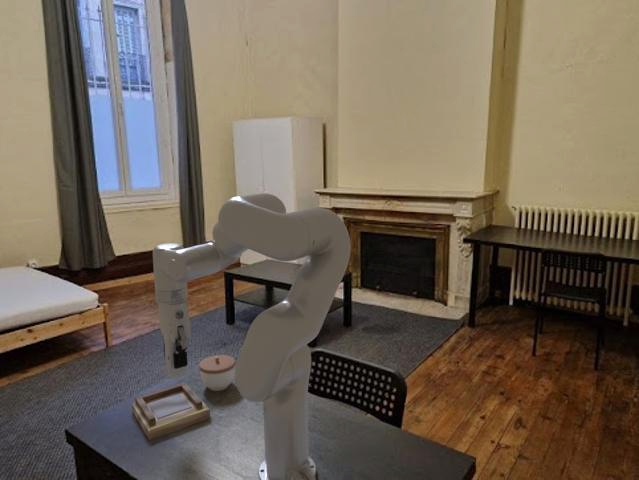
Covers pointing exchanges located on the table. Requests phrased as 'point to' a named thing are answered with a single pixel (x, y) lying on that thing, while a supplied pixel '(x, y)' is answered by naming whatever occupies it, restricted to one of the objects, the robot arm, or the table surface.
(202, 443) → the table surface
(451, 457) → the table surface
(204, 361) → the lidded jar
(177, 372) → the skincare box
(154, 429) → the frame
